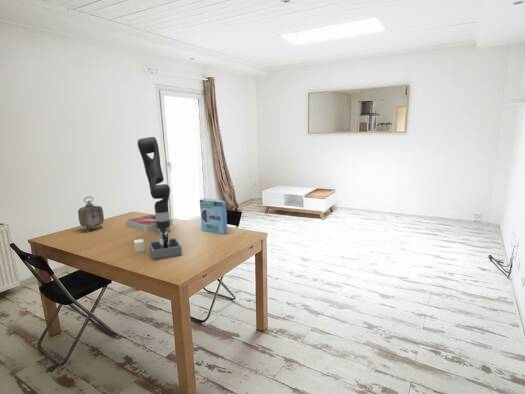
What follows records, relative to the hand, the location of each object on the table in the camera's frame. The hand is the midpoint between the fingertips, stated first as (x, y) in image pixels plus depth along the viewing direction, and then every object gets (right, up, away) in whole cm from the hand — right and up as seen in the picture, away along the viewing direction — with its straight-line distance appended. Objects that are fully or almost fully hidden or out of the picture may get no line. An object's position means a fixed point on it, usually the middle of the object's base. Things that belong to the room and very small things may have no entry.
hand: (165, 246), depth 187 cm
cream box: (-18, -3, +7) cm, 19 cm away
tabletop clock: (-68, +5, +49) cm, 84 cm away
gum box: (+23, +4, +40) cm, 46 cm away
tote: (0, -4, +1) cm, 4 cm away
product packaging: (-29, +7, +58) cm, 65 cm away
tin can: (0, -2, 0) cm, 2 cm away
